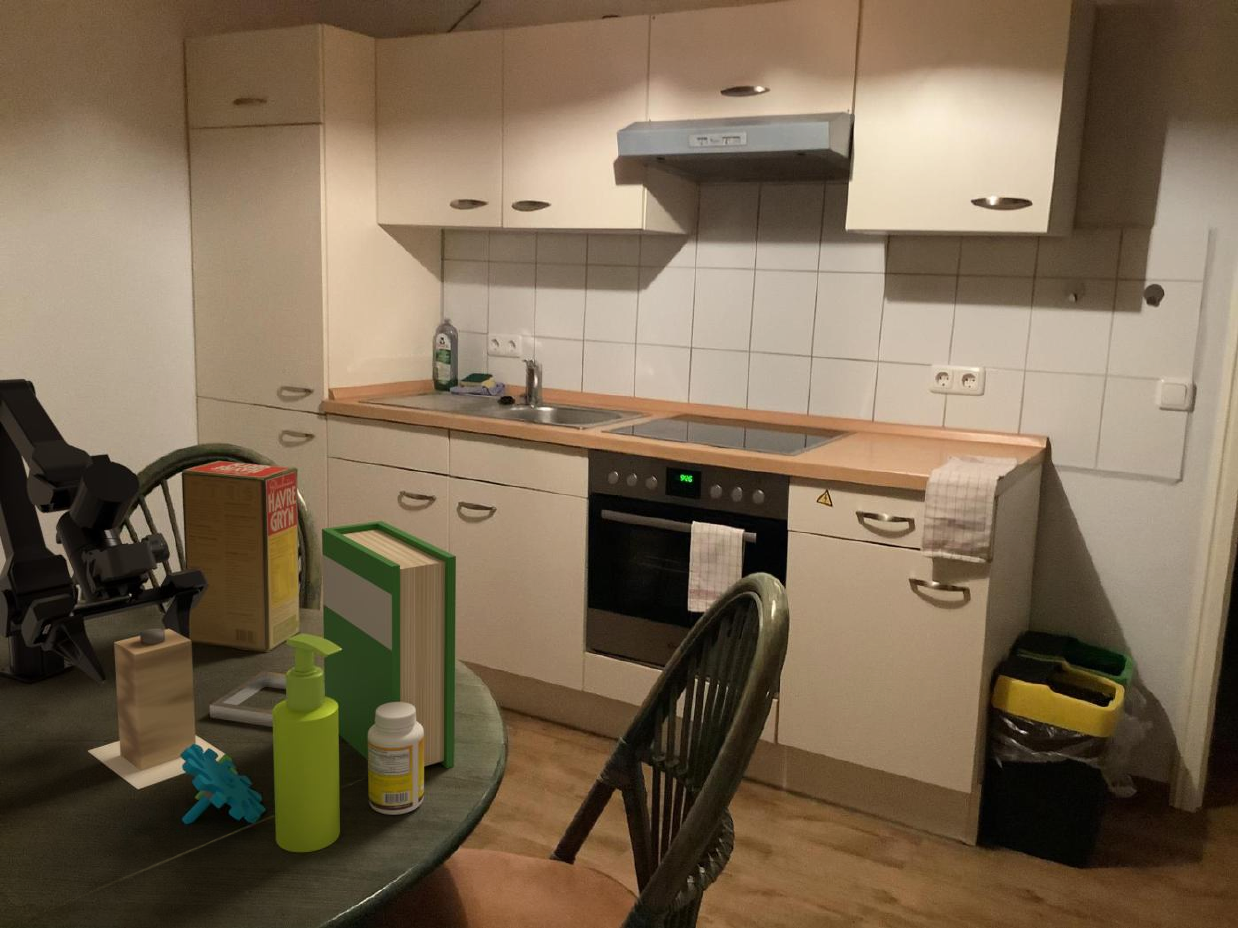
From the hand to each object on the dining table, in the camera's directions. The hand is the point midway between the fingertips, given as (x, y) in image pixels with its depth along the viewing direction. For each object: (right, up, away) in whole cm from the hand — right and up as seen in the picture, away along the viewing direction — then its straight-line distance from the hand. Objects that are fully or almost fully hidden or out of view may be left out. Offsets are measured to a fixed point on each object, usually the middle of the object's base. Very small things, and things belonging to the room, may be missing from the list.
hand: (146, 670), depth 112 cm
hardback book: (+25, -10, +5) cm, 27 cm away
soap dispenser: (+22, -13, -14) cm, 29 cm away
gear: (+13, -12, -11) cm, 21 cm away
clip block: (+1, -9, +1) cm, 9 cm away
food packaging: (-3, -3, +37) cm, 37 cm away
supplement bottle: (+29, -12, -7) cm, 32 cm away
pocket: (+10, -7, +14) cm, 19 cm away
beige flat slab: (+1, -10, +1) cm, 10 cm away
